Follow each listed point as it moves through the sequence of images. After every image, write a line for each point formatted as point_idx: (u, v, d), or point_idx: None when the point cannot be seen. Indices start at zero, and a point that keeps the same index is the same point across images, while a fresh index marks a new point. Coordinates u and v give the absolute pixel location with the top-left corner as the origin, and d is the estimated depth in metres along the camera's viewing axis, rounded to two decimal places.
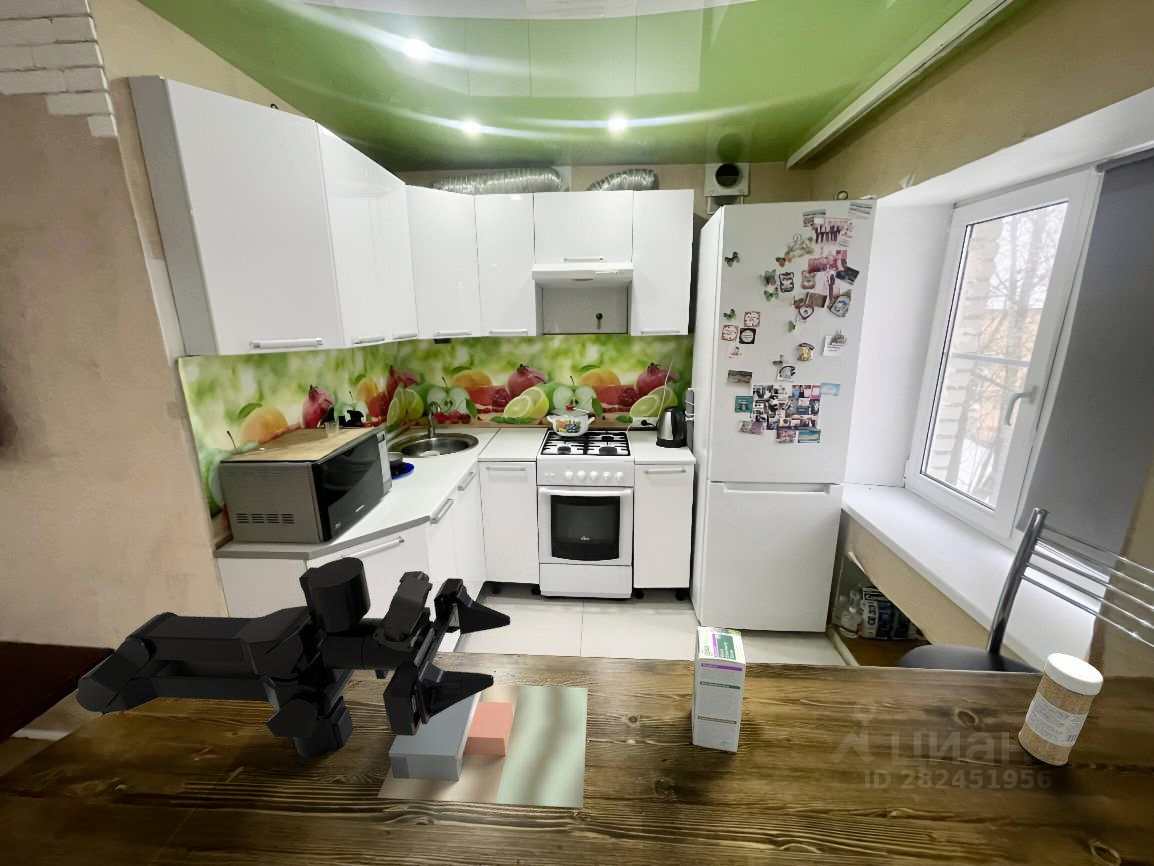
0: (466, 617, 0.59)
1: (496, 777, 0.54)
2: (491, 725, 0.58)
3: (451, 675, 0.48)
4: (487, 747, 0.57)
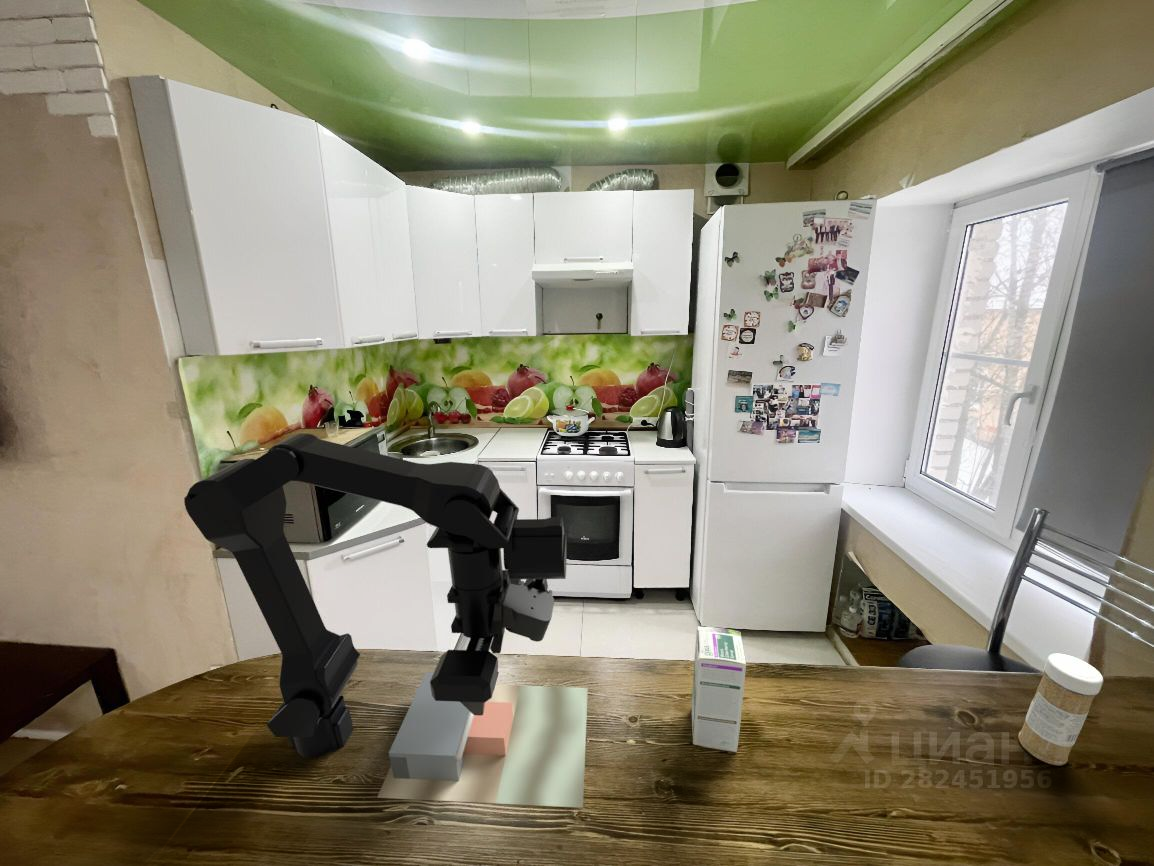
0: None
1: (496, 777, 0.54)
2: (491, 725, 0.58)
3: None
4: (487, 747, 0.57)
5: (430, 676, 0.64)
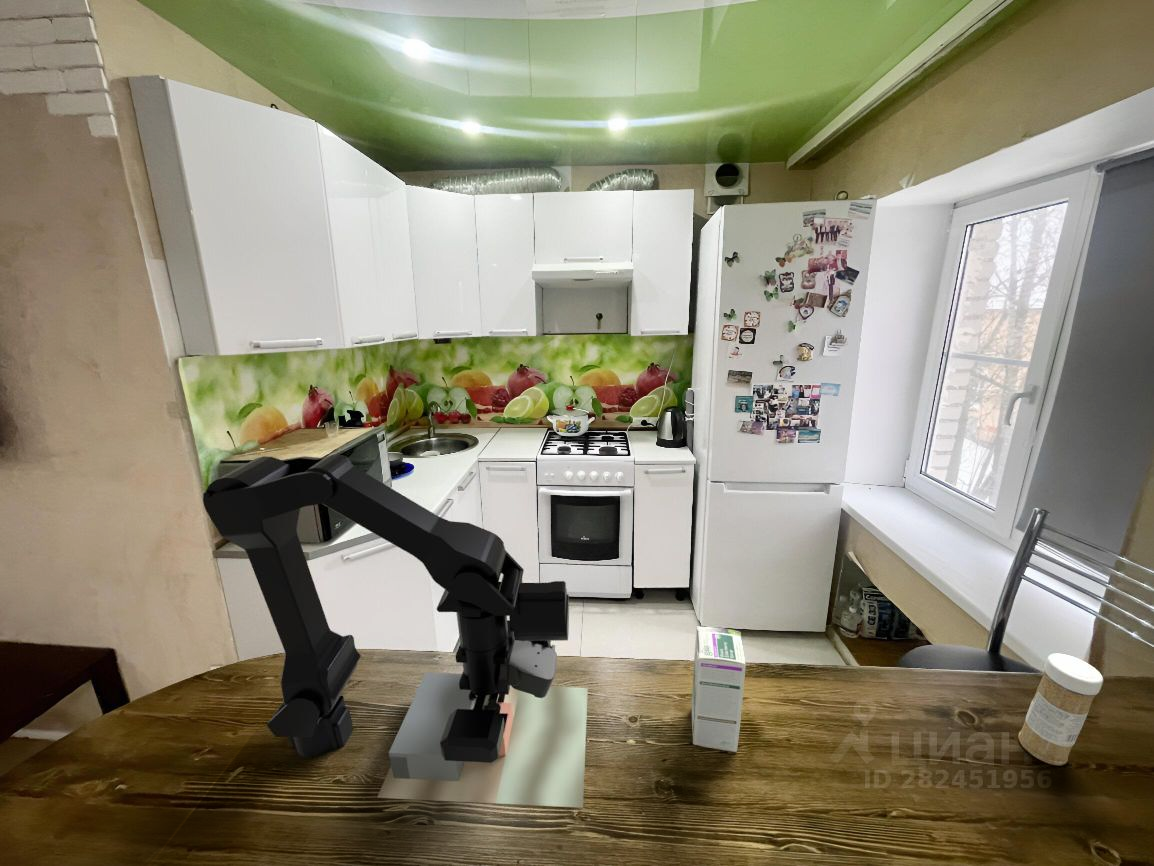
0: None
1: (496, 777, 0.54)
2: None
3: None
4: None
5: (430, 676, 0.64)
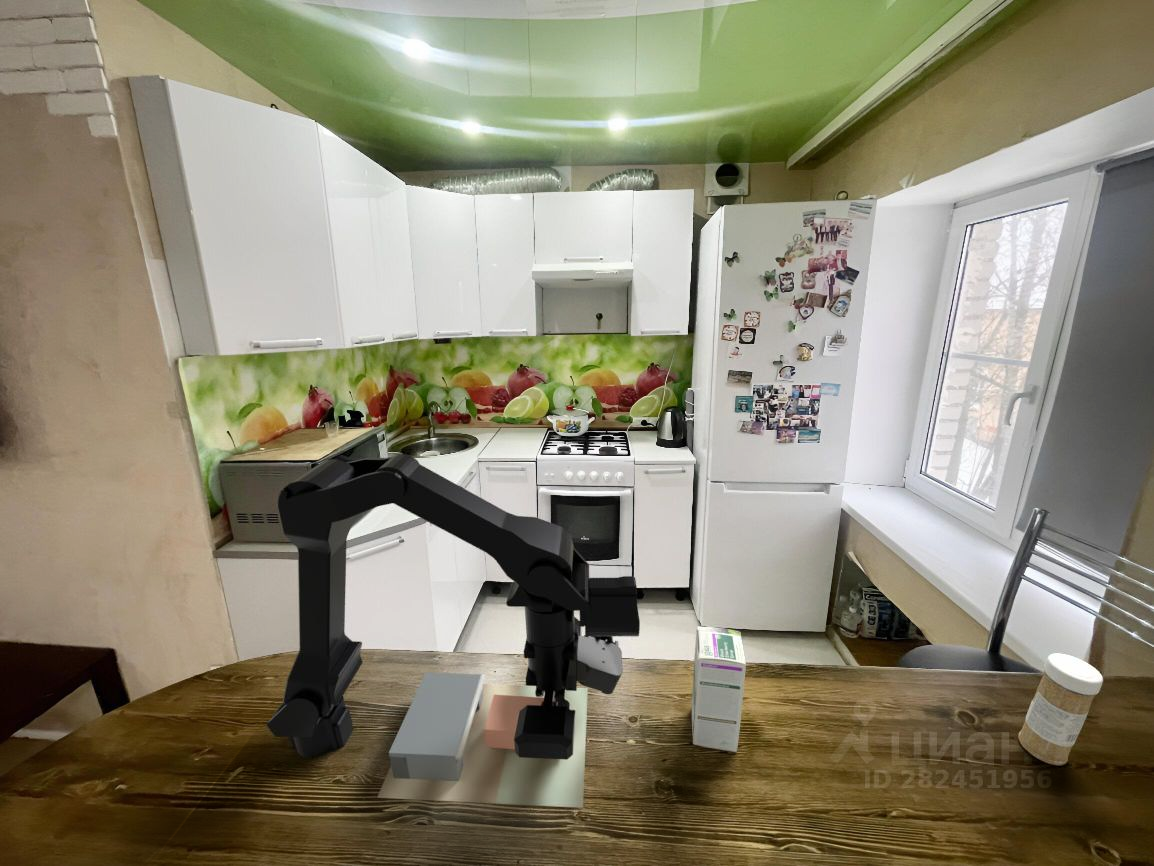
0: None
1: (496, 777, 0.54)
2: None
3: None
4: None
5: (430, 676, 0.64)
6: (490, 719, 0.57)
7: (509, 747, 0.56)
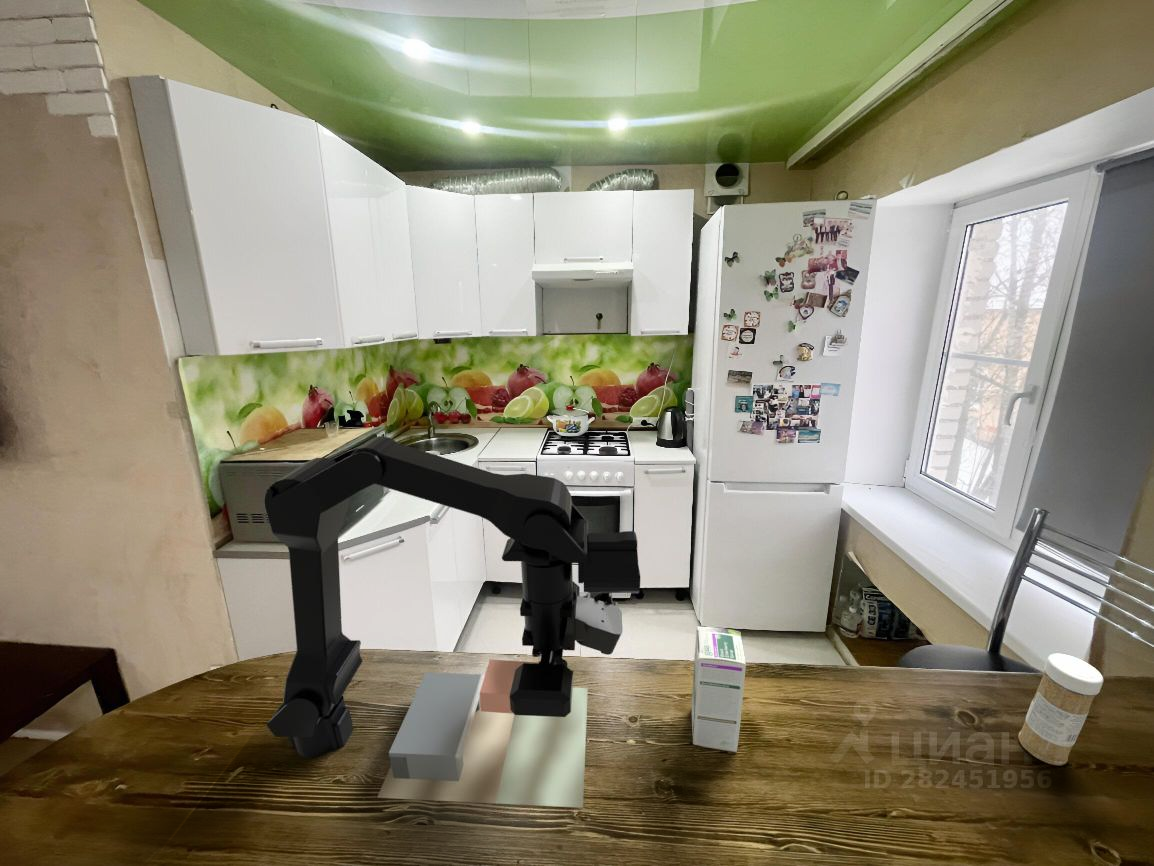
0: None
1: (496, 777, 0.54)
2: None
3: None
4: None
5: (430, 676, 0.64)
6: (486, 683, 0.55)
7: (505, 711, 0.55)
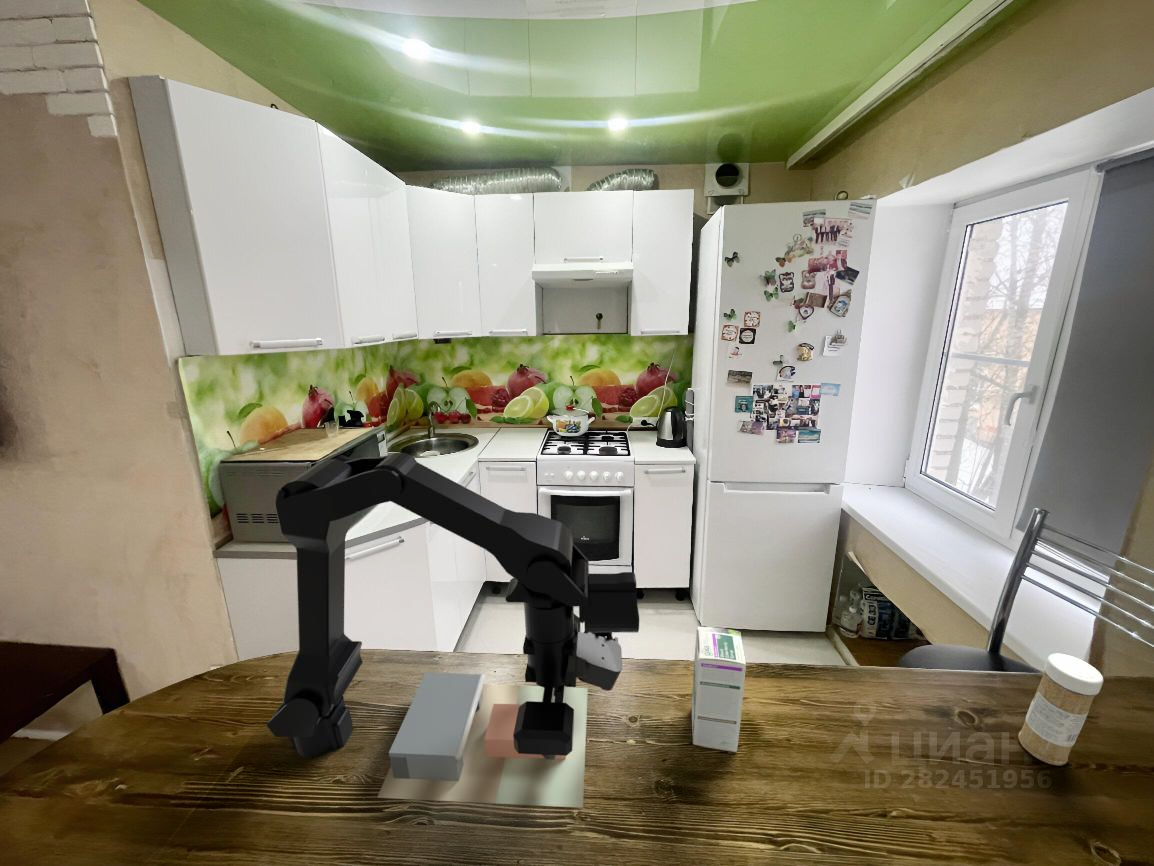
0: None
1: (496, 777, 0.54)
2: None
3: None
4: None
5: (430, 676, 0.64)
6: (490, 729, 0.57)
7: (510, 756, 0.57)
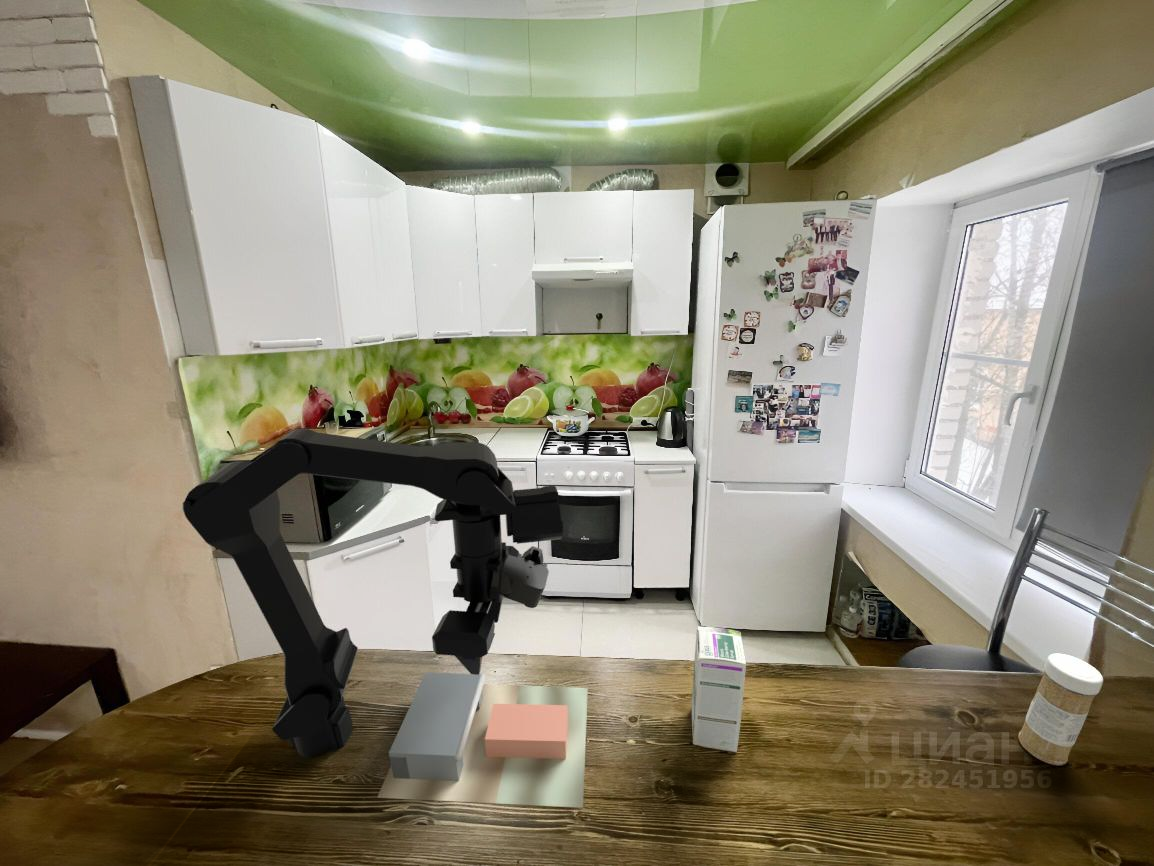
0: None
1: (496, 777, 0.54)
2: (550, 728, 0.57)
3: None
4: (548, 750, 0.56)
5: (430, 676, 0.64)
6: (490, 729, 0.57)
7: (510, 756, 0.57)
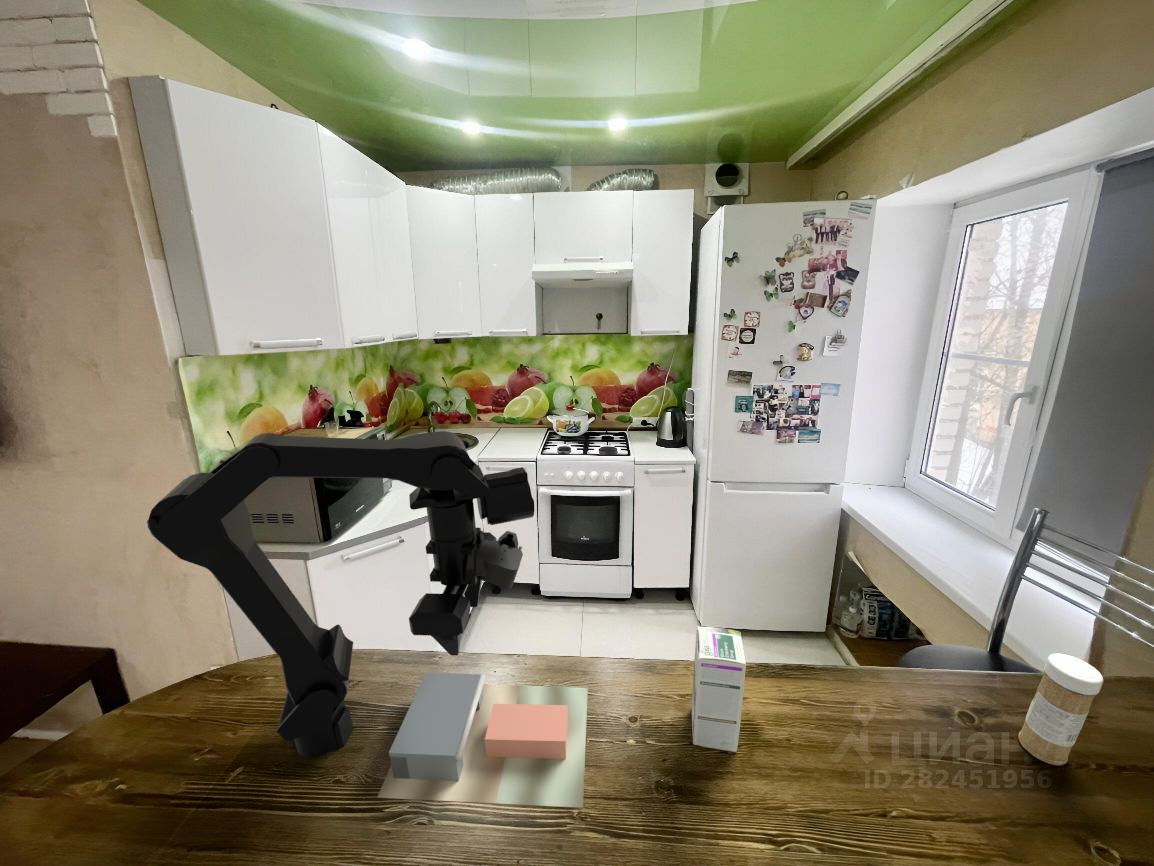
0: None
1: (496, 777, 0.54)
2: (550, 728, 0.57)
3: None
4: (548, 750, 0.56)
5: (430, 676, 0.64)
6: (490, 729, 0.57)
7: (510, 756, 0.57)
